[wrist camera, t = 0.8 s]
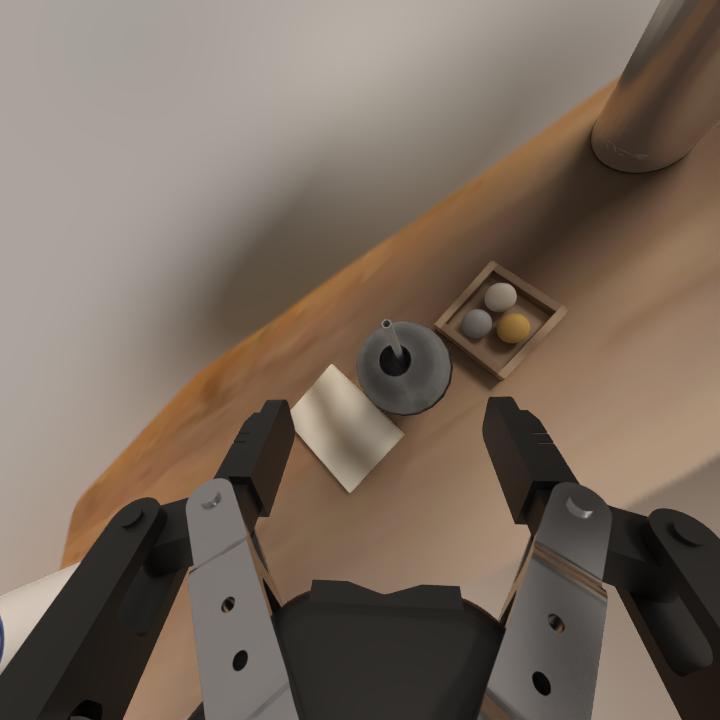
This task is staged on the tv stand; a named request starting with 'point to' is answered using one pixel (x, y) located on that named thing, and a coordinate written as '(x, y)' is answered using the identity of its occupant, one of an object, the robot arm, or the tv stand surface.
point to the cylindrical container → (27, 610)
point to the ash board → (344, 427)
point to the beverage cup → (404, 368)
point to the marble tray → (499, 319)
